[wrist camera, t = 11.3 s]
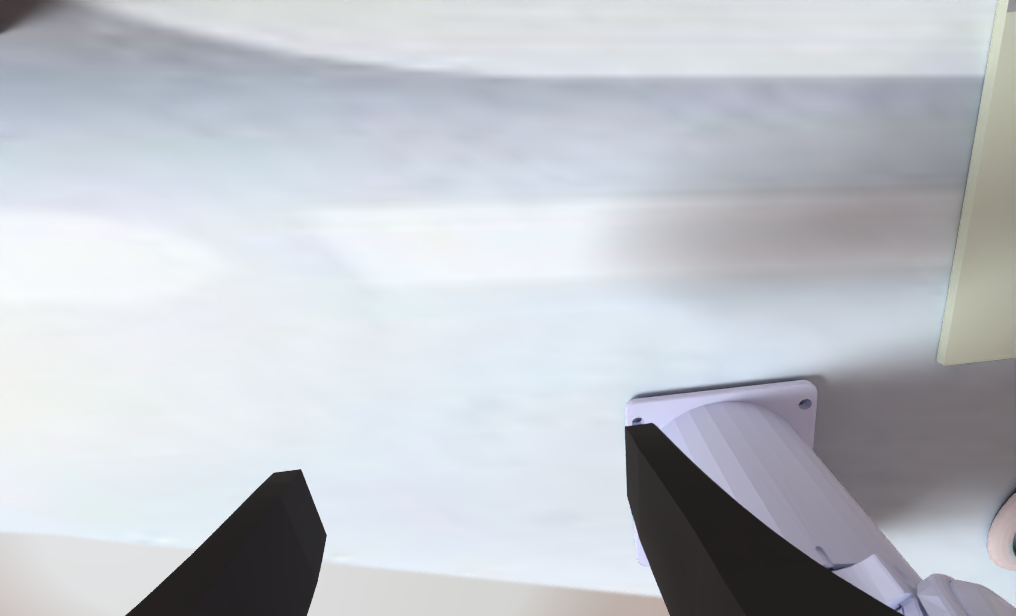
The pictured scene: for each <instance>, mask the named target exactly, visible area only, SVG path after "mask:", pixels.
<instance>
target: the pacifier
mask: <svg viewBox="0 0 1016 616" xmlns="http://www.w3.org/2000/svg"><path fill="white" fill-rule="evenodd" d="M1015 533H1016V492H1015V493H1014V494H1013V495H1012V496H1011V497H1010V498H1009V500H1008V501H1007V502H1006V503H1005V504H1004V505H1003V506H1002V508H1001V509H1000V511H999V512H998V514H997V516H996V517H995V519H994V520H993V523H992V525H991V528H990V530H989V533H988V538H987V549H988V553H989V556H990V559H991V560H992V561H993V562H994V563H995V564H996V565H997V566H999V567H1002V568H1004V569H1007V570H1012V571H1016V552H1013V548H1012V546H1013V539H1014V535H1015Z"/></svg>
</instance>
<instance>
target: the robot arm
mask: <svg viewBox="0 0 1016 616" xmlns="http://www.w3.org/2000/svg"><path fill="white" fill-rule="evenodd" d="M817 397H818V390H817V388H816V386H815V385H814V384H813V383H812V382H810V381H808V380H797V381H788V382H779V383H770V384H761V385H753V386H744V387H735V388H726V389H717V390H708V391H699V392H691V393H682V394H673V395H664V396H655V397H646V398H637V399H632V400H630V401H629V402H627V403H626V405H625V408H624V413H625V444H626V475H627V497H628V501H629V504H630V508H631V511H632V515H633V525H634V537H635V550H636V557H637V561H638V563H639V564H640V565H642V566H646V567H649V566H650V567H651V570H652V572H653V575H654V577H655V580H656V582H657V585H658V587H659V590H660V592H661V594H662V597H663V599H664V602H665V604H666V607H667V609H668V612H669V614H670V616H1016V608H1015V607H1013V606H1012V605H1011V604H1009V603H1008V602H1007V601H1005V600H1004V599H1003V598H1001V597H1000V596H999V595H997V594H996V593H994V592H993V591H991V590H990V589H988V588H986V587H984V586H982V585H980V584H975V583H971V582H966V581H961V580H955V579H953V578H951V577H949V576H947V575H944V574H932V575H930V576H929V577H927V578H926V579H924V580H922V579H921V578H920V577H919V575H918V574H917V573H916V572H915V571H914V569H913V568H912V567H911V566H910V565H909V564H908V562H907V561H906V560H905V559H904V558H903V556H902V555H901V554H900V553H899V552H898V551H897V549H896V548H895V547H894V546H893V545H892V543H891V542H890V541H889V540H888V539H887V538H886V536H885V535H884V534H883V533H882V532H881V531H880V529H879V528H878V527H877V526H876V525H875V523H874V522H873V521H872V520H871V519H870V518H869V516H868V515H867V514H866V513H865V512H864V510H863V509H862V508H861V507H860V506H859V505H858V503H857V502H856V501H855V500H854V499H853V497H852V496H851V495H850V494H849V493H848V492H847V490H846V489H845V488H844V487H843V486H842V484H841V483H840V482H839V481H838V480H837V479H836V477H835V476H834V475H833V474H832V473H831V472H830V470H829V469H828V468H827V467H826V466H825V464H824V463H823V462H822V461H821V460H820V459H819V457H818V456H817V455H816V454H815V453H814V451H813V447H814V434H815V422H816V409H817ZM805 399H807V400H806V402H805V403H804V404H801V405H799V403H800V402H801V401H802V400H805ZM635 418H642V420H641V421H640V422H637V423H635V422H632V421H633V420H634V419H635ZM326 536H327V535H326V532H325V530H324V527H323V525H322V522H321V519H320V517H319V514H318V512H317V509H316V507H315V504H314V501H313V499H312V496H311V494H310V491H309V489H308V486H307V484H306V481H305V478H304V476H303V473H302V471H301V469H299V470H292V471H284V472H277V473H273V474H272V475H271V476H270V477H269V478H268V479H267V480H266V481H265V482H264V483H263V484H262V485H261V486H260V487H258V488H257V489H256V490H255V491H254V492H253V493H252V494H251V495H250V497H249V498H248V499H247V500H246V501H245V502H244V503H243V504H242V505H241V506H240V507H239V508H238V509H237V510H236V511H235V512H234V513H233V514H232V515H231V516H230V517H229V518H228V519H227V520H226V521H225V522H224V523H223V524H222V525H221V526H220V527H219V528H218V529H217V530H216V531H215V532H214V533H213V534H212V535H211V536H210V537H209V538H208V539H207V540H206V541H205V542H204V543H203V544H202V545H201V546H200V547H199V548H198V549H197V550H196V551H195V552H194V553H193V554H192V555H191V556H190V557H189V558H187V559H186V560H185V561H184V562H183V563H182V564H181V565H180V566H179V567H178V568H177V569H176V570H175V571H174V572H173V573H171V574H170V575H169V576H168V577H167V578H166V579H165V580H164V581H163V582H162V583H161V584H160V585H159V586H158V587H156V589H154V590H153V592H151V593H150V594H149V595H148V596H147V597H146V598H145V599H144V600H142V601H141V602H140V603H139V604H138V605H137V606H136V607H135V608H134V609H132V610H131V611H130V612H129V613H128V614H127V615H126V616H307V613H308V610H309V607H310V604H311V601H312V598H313V594H314V591H315V588H316V585H317V582H318V577H319V572H320V568H321V563H322V558H323V553H324V547H325V542H326Z"/></svg>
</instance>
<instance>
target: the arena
mask: <svg viewBox="0 0 1016 616" xmlns="http://www.w3.org/2000/svg"><path fill="white" fill-rule="evenodd" d="M1010 358H1016V0H998V4H997V10H996V16H995V22H994V28H993V34H992V39H991V45H990V51H989V57H988V63H987V68H986V74H985V80H984V86H983V92H982V97H981V103H980V109H979V115H978V121H977V127H976V132H975V138H974V144H973V150H972V156H971V161H970V167H969V173H968V179H967V185H966V191H965V196H964V202H963V208H962V214H961V220H960V225H959V231H958V237H957V243H956V249H955V254H954V260H953V266H952V272H951V278H950V284H949V289H948V295H947V301H946V307H945V313H944V318H943V324H942V330H941V336H940V342H939V347H938V353H937V359H936V362H938V363H939V364H941V365H943V366H948V365H957V364H966V363H975V362H983V361H992V360H1001V359H1010Z"/></svg>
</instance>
